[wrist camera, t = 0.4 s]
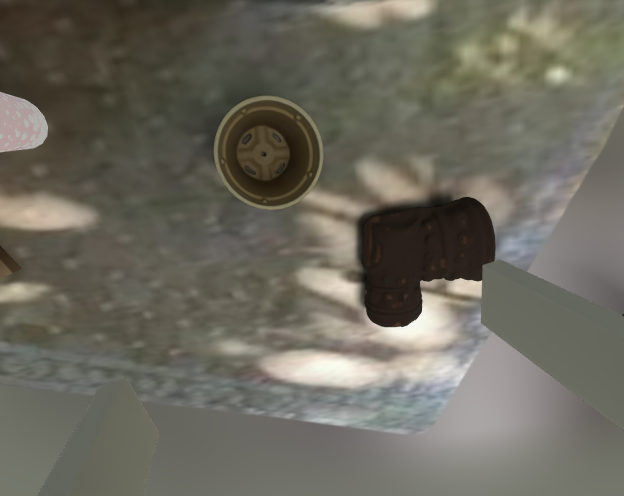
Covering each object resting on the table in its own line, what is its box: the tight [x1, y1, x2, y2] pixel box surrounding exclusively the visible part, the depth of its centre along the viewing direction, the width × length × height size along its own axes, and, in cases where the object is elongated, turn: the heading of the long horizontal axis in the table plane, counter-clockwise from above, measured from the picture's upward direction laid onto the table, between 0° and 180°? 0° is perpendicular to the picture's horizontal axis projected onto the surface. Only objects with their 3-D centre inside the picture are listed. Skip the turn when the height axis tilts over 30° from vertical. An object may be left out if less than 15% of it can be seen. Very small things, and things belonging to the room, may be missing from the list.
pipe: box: [362, 197, 495, 327], centre depth 39 cm, size 10×15×15 cm
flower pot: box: [214, 96, 323, 210], centre depth 29 cm, size 9×9×9 cm
